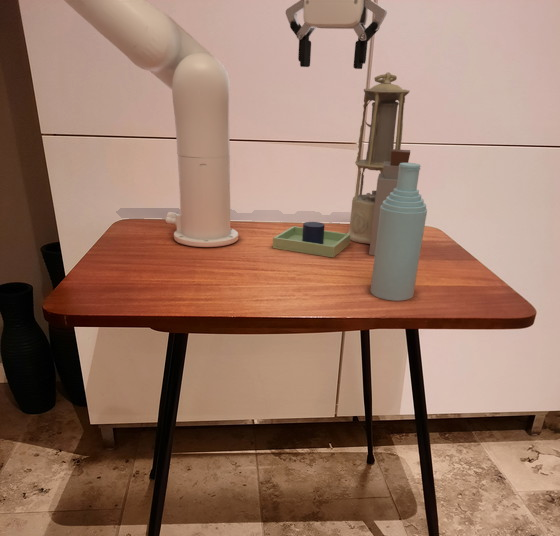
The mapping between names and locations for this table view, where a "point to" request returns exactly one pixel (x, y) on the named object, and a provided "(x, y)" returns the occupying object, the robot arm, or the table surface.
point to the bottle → (399, 238)
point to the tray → (293, 242)
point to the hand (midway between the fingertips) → (331, 67)
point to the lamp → (376, 148)
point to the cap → (313, 232)
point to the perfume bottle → (386, 188)
